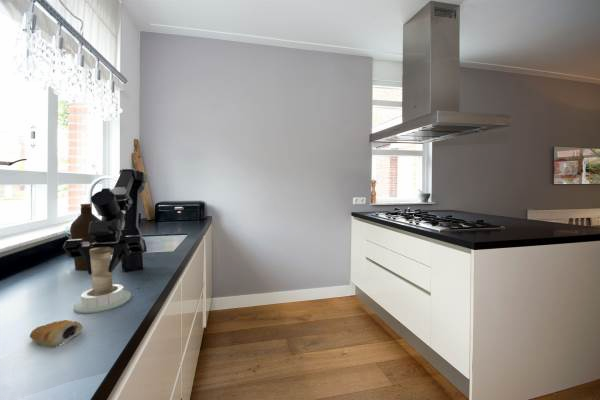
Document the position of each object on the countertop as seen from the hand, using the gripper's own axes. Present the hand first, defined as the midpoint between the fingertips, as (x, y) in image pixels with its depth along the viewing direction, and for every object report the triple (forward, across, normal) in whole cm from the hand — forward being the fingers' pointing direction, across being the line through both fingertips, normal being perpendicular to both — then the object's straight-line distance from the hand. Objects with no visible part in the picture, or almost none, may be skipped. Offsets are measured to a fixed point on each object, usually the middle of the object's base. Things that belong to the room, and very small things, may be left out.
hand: (99, 272), depth 75 cm
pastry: (+18, -3, -5) cm, 19 cm away
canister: (+4, 0, +6) cm, 7 cm away
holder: (+5, 0, +7) cm, 9 cm away
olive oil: (-23, -18, +36) cm, 46 cm away
